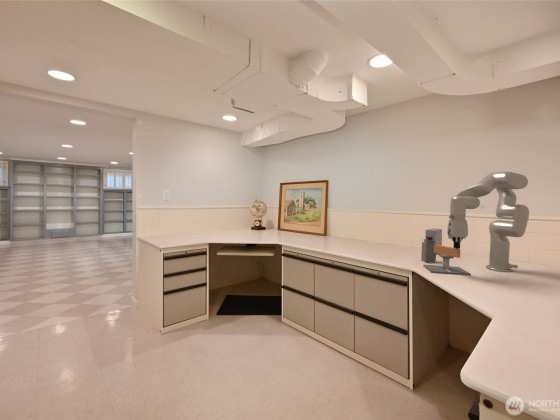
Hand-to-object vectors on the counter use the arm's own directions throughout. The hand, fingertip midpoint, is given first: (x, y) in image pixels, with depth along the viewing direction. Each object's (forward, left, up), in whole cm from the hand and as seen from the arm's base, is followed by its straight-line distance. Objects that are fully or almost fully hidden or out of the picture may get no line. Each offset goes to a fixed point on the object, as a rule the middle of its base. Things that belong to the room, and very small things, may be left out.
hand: (456, 248), depth 154 cm
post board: (+3, -7, -16) cm, 17 cm away
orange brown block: (+3, -7, -7) cm, 10 cm away
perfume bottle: (+6, -29, -16) cm, 34 cm away
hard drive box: (-8, -63, -16) cm, 66 cm away
